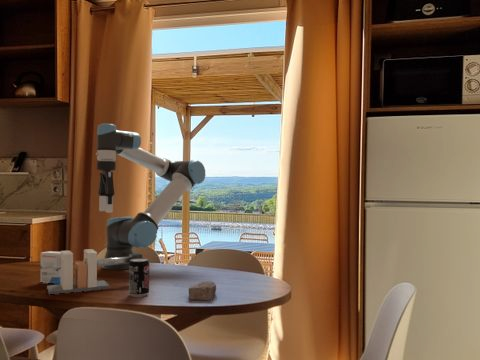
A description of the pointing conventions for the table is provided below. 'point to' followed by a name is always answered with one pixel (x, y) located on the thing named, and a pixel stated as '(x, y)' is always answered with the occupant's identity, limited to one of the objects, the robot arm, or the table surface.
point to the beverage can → (138, 277)
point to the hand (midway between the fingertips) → (105, 211)
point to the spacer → (80, 274)
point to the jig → (67, 273)
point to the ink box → (50, 267)
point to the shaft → (118, 260)
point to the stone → (202, 291)
